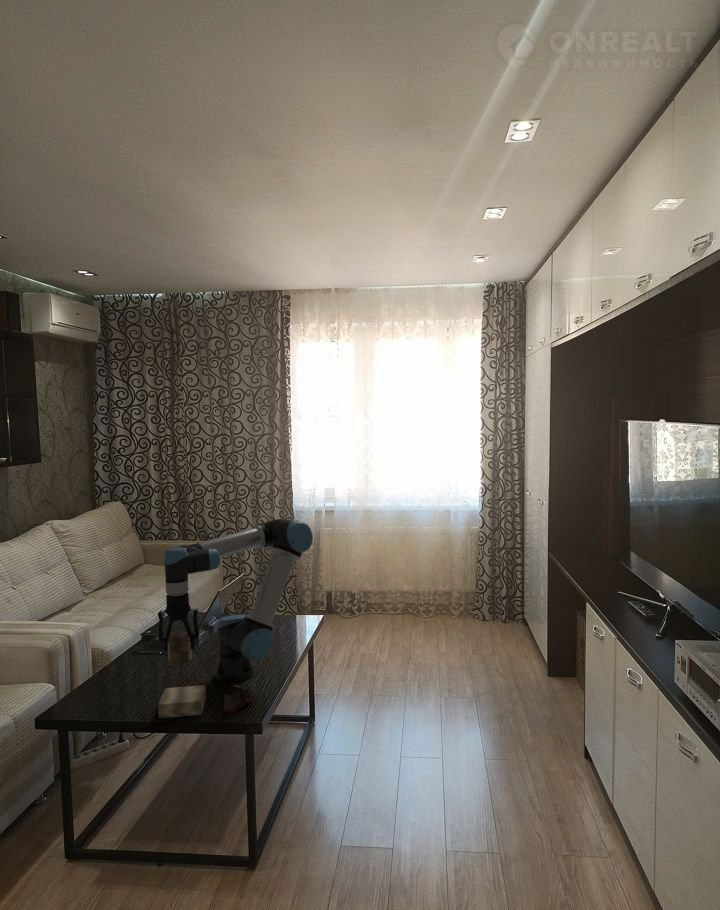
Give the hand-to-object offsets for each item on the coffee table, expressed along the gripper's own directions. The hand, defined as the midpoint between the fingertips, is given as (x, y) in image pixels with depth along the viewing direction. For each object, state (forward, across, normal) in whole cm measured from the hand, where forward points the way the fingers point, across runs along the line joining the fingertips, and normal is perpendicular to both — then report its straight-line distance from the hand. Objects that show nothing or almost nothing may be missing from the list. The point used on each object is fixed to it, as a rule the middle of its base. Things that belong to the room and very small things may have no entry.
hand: (180, 659), depth 222 cm
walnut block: (0, 0, 0) cm, 0 cm away
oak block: (+17, 0, 0) cm, 17 cm away
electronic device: (+17, -19, +4) cm, 26 cm away
